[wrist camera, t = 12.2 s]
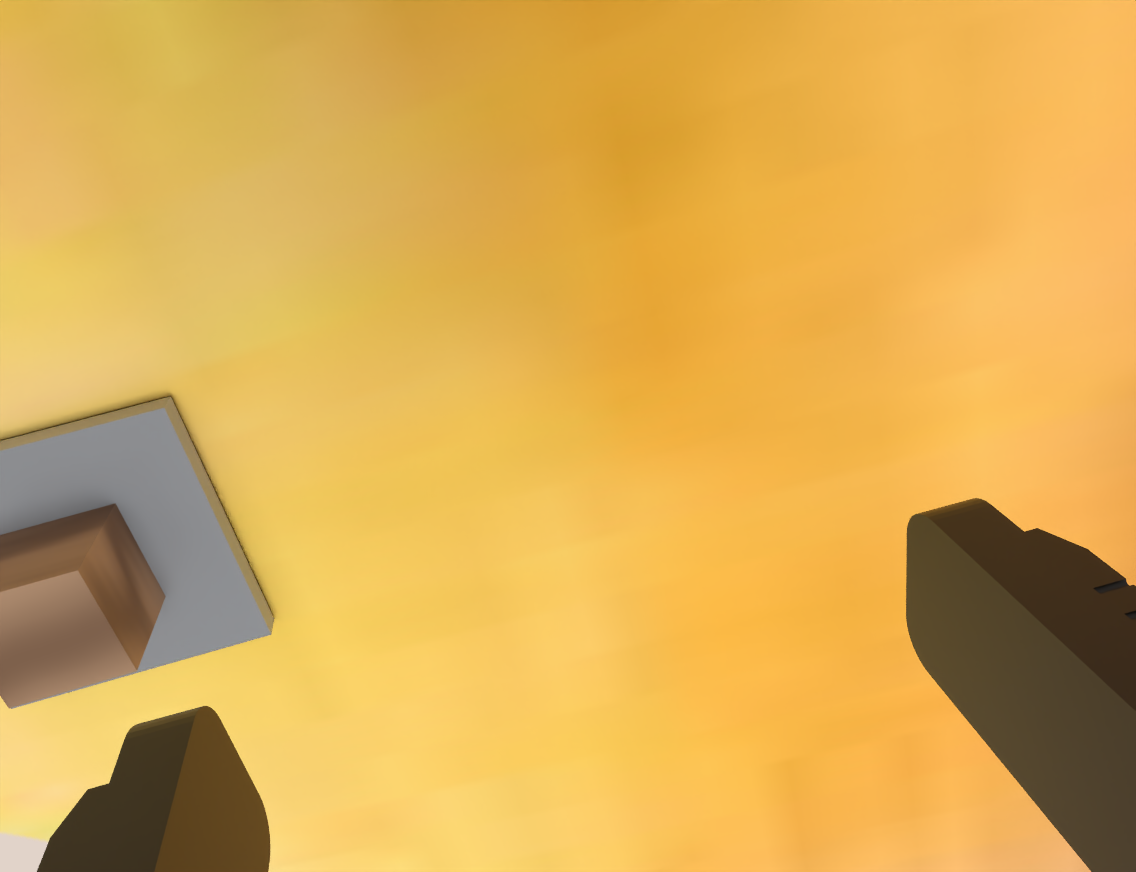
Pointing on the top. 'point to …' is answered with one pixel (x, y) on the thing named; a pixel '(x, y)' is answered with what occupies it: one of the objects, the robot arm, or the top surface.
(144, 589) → the walnut cube
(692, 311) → the top surface
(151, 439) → the plate
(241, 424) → the top surface
